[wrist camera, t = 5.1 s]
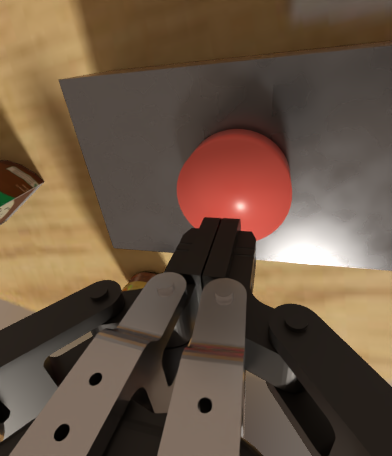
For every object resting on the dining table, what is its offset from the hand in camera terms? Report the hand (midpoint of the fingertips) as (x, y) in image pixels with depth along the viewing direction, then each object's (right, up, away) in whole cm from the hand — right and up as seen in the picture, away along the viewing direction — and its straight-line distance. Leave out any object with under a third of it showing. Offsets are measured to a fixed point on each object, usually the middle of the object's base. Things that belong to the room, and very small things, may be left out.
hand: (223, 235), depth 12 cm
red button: (+2, +6, +8) cm, 10 cm away
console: (+3, +6, +9) cm, 12 cm away
